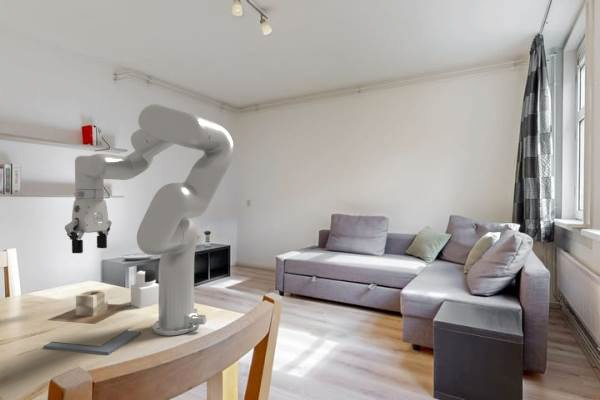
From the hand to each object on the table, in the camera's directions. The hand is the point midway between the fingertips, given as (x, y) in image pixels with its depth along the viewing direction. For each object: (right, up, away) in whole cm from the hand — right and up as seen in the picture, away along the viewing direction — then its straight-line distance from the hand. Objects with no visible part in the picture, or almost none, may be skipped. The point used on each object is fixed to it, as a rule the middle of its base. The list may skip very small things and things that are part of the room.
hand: (90, 250), depth 104 cm
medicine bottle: (+13, -21, +9) cm, 26 cm away
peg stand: (0, -20, 0) cm, 20 cm away
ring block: (0, -20, 0) cm, 20 cm away
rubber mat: (+12, -21, -18) cm, 30 cm away
